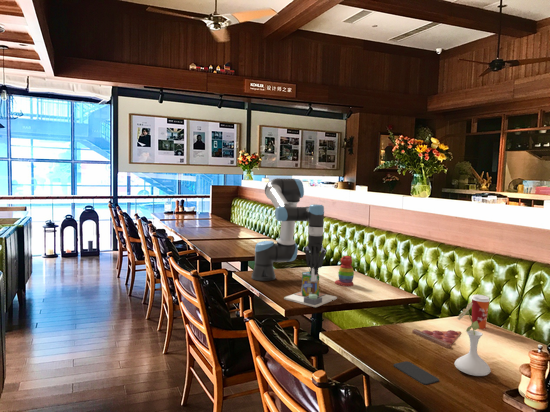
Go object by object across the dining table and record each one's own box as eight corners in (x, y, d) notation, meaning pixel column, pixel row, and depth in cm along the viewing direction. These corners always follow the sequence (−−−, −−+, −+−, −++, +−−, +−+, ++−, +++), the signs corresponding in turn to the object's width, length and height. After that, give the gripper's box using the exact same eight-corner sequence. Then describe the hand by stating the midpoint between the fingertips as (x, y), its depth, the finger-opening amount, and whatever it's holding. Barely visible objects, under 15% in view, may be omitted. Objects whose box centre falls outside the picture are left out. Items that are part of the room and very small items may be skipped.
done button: (307, 299, 215) (307, 295, 215) (311, 298, 218) (312, 293, 218) (314, 301, 212) (314, 296, 212) (318, 299, 215) (319, 295, 215)
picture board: (284, 299, 222) (284, 292, 222) (306, 291, 239) (306, 285, 239) (315, 307, 210) (315, 300, 210) (336, 298, 226) (337, 292, 226)
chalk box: (318, 296, 225) (320, 269, 224) (301, 296, 225) (302, 269, 224) (317, 292, 234) (318, 266, 233) (301, 291, 234) (302, 265, 233)
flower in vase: (468, 361, 153) (472, 294, 151) (497, 375, 143) (502, 303, 141) (443, 368, 147) (448, 298, 145) (472, 383, 137) (477, 308, 135)
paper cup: (482, 331, 185) (484, 300, 184) (465, 325, 191) (467, 295, 190) (491, 327, 189) (493, 297, 188) (475, 322, 195) (477, 293, 194)
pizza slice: (411, 329, 180) (442, 322, 190) (411, 334, 180) (442, 327, 190) (448, 344, 164) (480, 336, 174) (447, 350, 164) (479, 341, 174)
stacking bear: (348, 281, 264) (350, 253, 263) (357, 285, 255) (358, 257, 253) (333, 282, 260) (334, 254, 259) (341, 287, 251) (342, 257, 250)
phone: (424, 384, 134) (392, 364, 148) (424, 386, 134) (391, 366, 148) (441, 379, 137) (407, 360, 151) (440, 382, 137) (407, 362, 151)
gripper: (300, 234, 214) (299, 279, 215) (322, 237, 206) (320, 284, 207) (309, 232, 220) (307, 277, 221) (330, 235, 211) (328, 281, 213)
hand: (313, 280), depth 214 cm, fingers closed
